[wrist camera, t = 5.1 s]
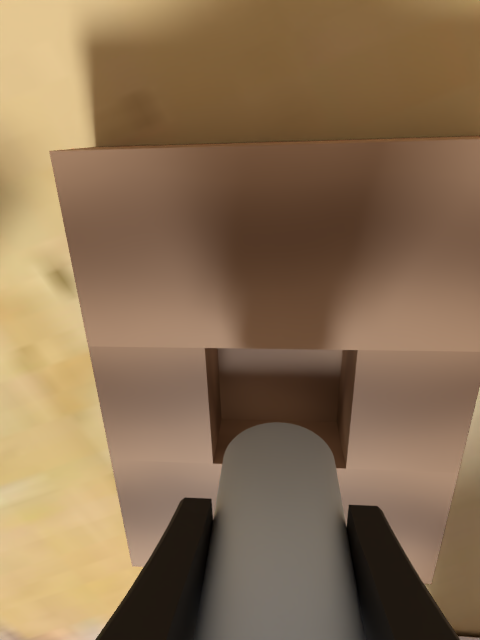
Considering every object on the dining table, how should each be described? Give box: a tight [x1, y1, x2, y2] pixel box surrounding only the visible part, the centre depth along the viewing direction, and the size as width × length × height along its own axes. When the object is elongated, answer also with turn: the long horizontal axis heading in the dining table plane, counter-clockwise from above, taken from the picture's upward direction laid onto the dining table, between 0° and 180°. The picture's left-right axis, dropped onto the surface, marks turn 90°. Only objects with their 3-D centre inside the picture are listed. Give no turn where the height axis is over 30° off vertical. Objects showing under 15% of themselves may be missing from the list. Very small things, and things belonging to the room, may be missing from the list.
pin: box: [194, 422, 366, 640], centre depth 8 cm, size 3×3×7 cm
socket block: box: [49, 136, 480, 584], centre depth 15 cm, size 16×12×3 cm
